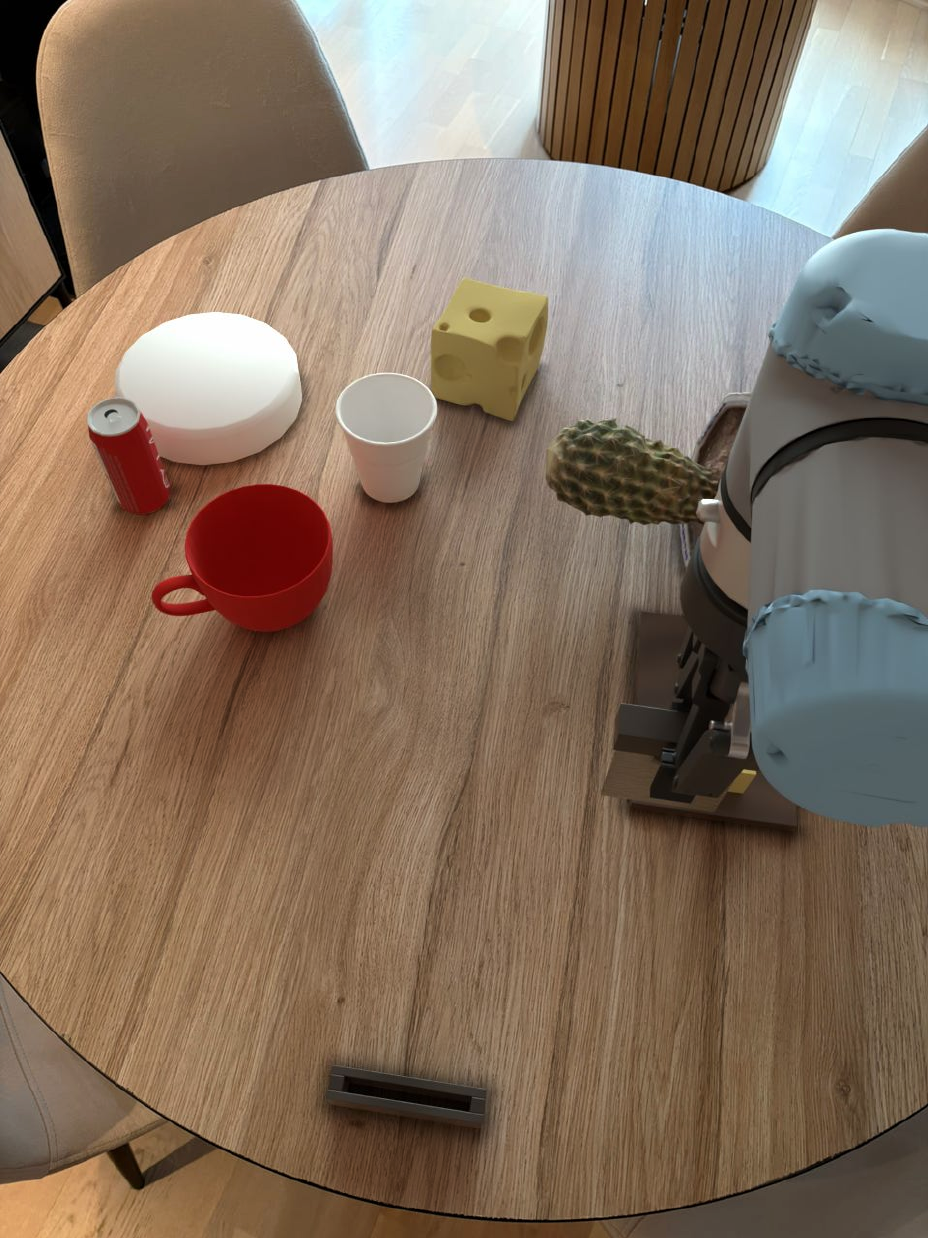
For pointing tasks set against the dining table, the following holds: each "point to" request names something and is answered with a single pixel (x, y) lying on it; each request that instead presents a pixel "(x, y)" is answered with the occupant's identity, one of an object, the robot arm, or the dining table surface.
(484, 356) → the cheese
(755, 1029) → the dining table surface
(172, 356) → the container
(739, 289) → the dining table surface
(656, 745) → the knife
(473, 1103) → the knife block
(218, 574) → the ceramic cup
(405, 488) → the cup
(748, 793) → the board
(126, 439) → the soda can
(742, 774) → the block
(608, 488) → the potted plant
